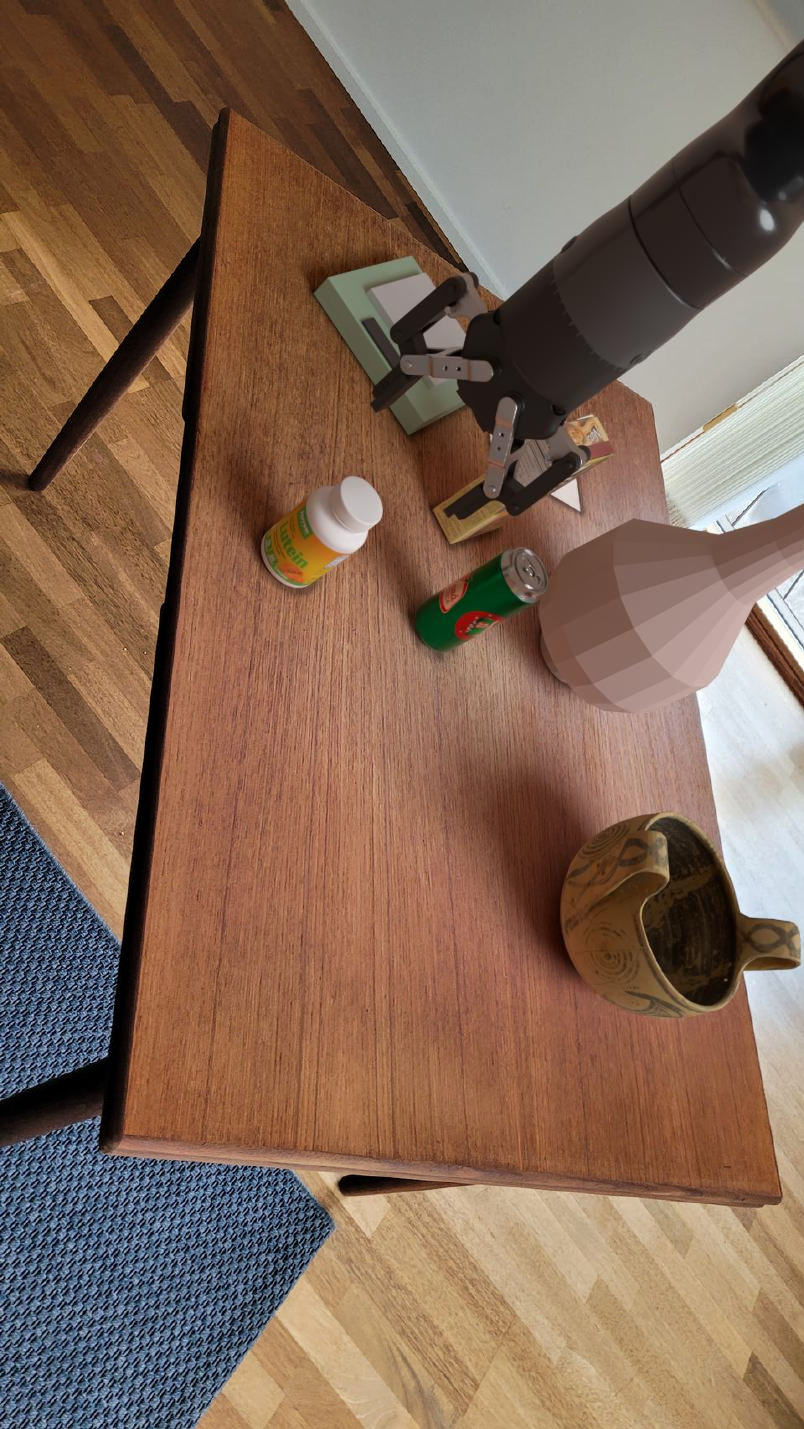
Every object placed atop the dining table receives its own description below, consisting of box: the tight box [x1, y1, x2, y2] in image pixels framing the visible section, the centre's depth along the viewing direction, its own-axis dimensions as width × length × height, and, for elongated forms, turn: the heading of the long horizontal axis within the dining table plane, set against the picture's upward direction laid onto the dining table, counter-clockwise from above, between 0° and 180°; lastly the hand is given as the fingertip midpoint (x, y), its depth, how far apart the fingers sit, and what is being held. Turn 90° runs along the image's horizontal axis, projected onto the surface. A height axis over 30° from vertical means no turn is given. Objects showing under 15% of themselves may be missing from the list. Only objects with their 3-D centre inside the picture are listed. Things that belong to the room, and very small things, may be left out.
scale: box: [313, 255, 466, 436], centre depth 93 cm, size 16×16×3 cm
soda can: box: [414, 546, 549, 653], centre depth 78 cm, size 5×5×12 cm
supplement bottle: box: [260, 475, 384, 589], centre depth 69 cm, size 5×5×10 cm
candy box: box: [432, 415, 615, 545], centre depth 85 cm, size 9×4×15 cm, turn 129°
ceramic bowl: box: [559, 810, 802, 1020], centre depth 77 cm, size 22×17×15 cm
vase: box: [538, 502, 804, 715], centre depth 84 cm, size 18×18×30 cm
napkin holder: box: [489, 414, 595, 513], centre depth 103 cm, size 15×11×6 cm
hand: (414, 458), depth 62 cm, fingers open, 8 cm apart
